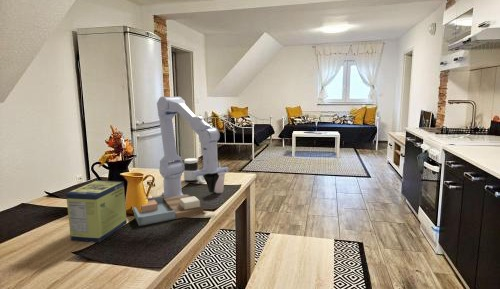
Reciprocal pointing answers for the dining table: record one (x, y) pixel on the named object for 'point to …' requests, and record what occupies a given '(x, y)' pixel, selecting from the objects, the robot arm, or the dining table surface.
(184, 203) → the cream tile
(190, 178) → the spread jar
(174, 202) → the walnut board
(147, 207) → the terracotta tile
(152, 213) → the box
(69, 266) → the dining table surface
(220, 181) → the smoothie
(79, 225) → the protein box
